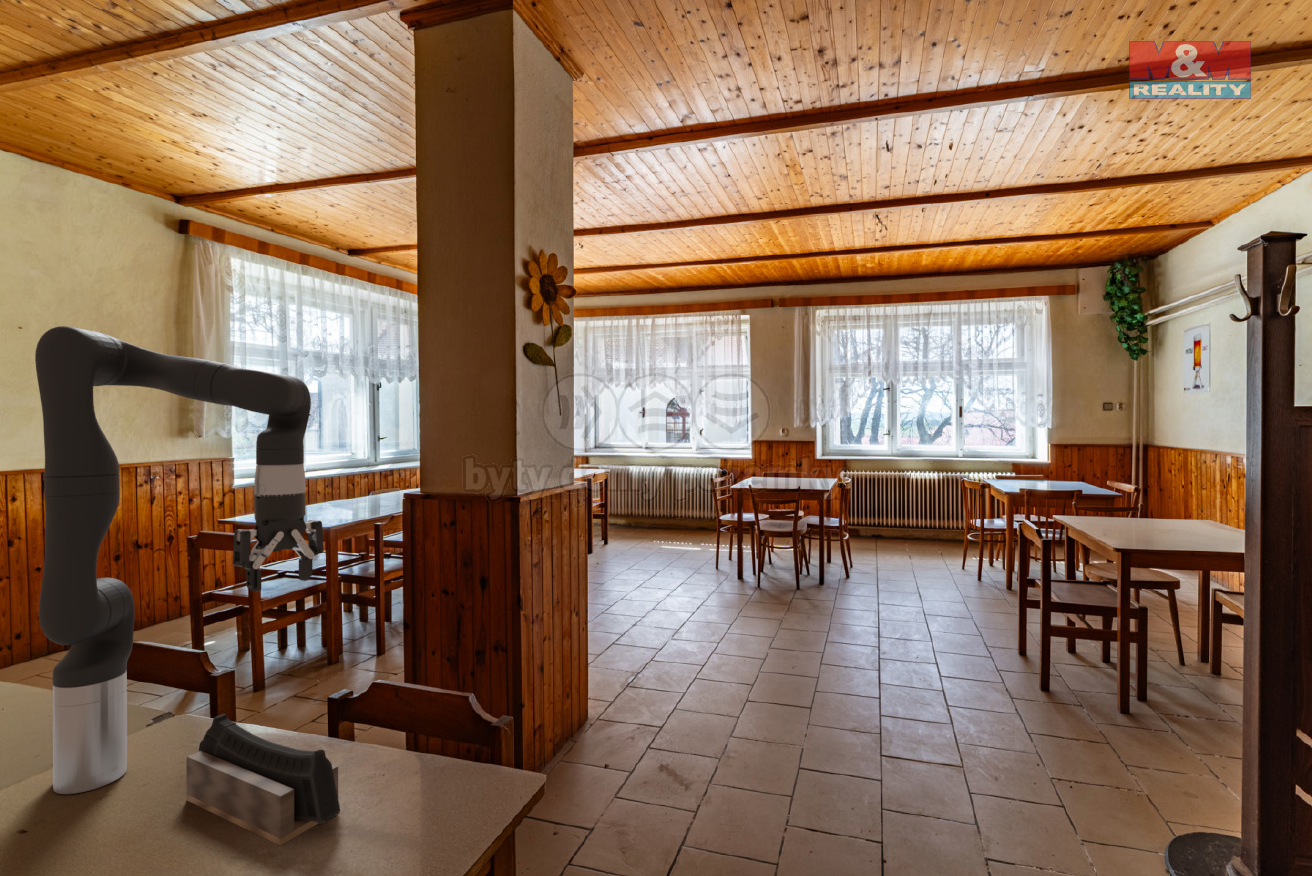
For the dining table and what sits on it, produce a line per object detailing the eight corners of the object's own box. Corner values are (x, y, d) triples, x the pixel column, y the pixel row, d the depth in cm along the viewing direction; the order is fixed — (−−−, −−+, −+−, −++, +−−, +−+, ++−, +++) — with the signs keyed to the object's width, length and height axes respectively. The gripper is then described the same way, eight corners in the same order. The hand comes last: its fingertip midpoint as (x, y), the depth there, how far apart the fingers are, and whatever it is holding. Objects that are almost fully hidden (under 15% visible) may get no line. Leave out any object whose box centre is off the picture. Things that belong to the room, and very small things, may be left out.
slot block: (186, 800, 99) (186, 756, 99) (245, 772, 107) (245, 732, 107) (280, 845, 88) (280, 796, 88) (338, 811, 96) (338, 766, 96)
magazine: (352, 763, 91) (231, 671, 103) (332, 774, 88) (210, 678, 100) (329, 865, 93) (213, 763, 106) (309, 879, 90) (192, 773, 103)
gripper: (306, 487, 115) (306, 574, 115) (223, 493, 103) (223, 592, 103) (332, 488, 112) (332, 579, 112) (250, 495, 99) (250, 597, 99)
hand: (280, 585), depth 107 cm, fingers open, 8 cm apart
